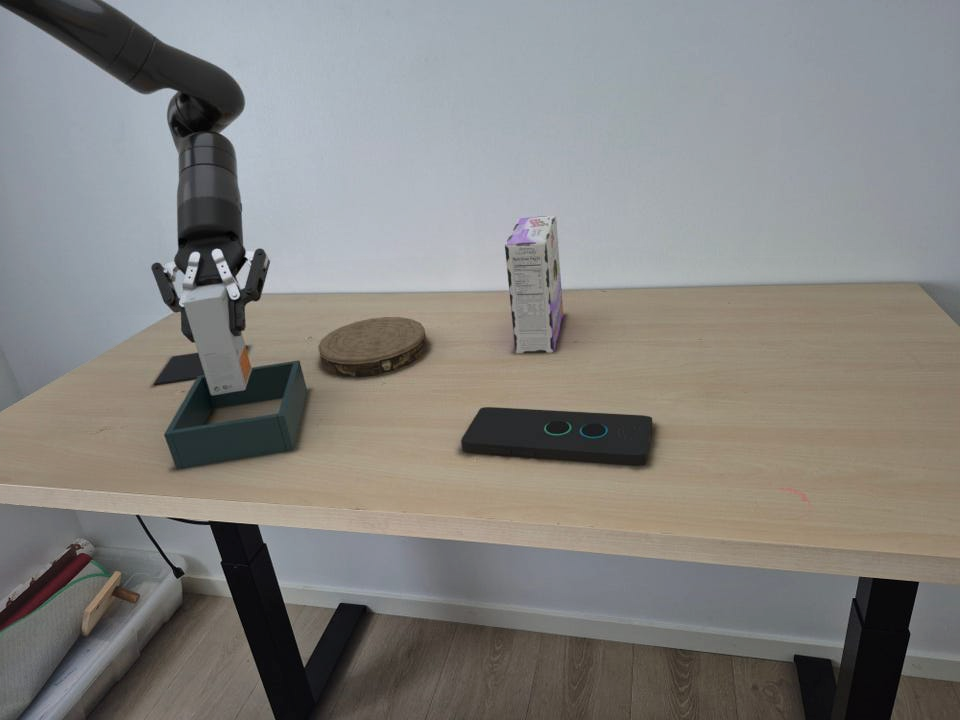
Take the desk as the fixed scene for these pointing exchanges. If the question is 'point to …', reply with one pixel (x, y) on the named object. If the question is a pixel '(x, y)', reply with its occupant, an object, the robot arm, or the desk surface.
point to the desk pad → (181, 369)
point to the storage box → (243, 436)
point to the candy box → (534, 284)
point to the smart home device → (560, 435)
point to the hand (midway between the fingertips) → (214, 336)
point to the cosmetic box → (217, 339)
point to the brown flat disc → (373, 347)
